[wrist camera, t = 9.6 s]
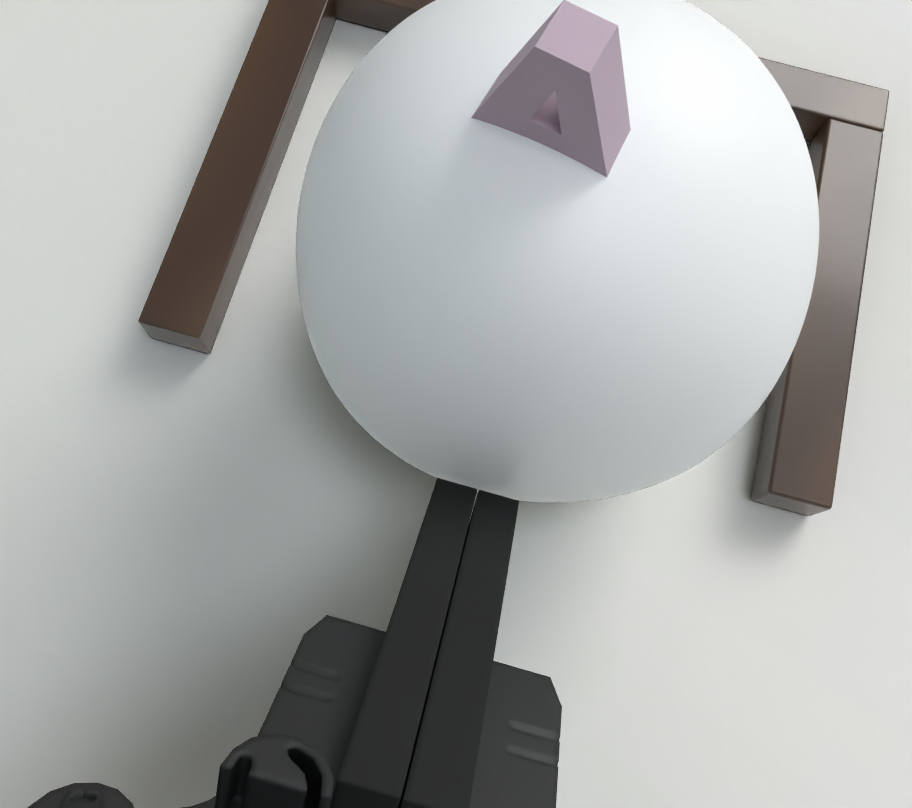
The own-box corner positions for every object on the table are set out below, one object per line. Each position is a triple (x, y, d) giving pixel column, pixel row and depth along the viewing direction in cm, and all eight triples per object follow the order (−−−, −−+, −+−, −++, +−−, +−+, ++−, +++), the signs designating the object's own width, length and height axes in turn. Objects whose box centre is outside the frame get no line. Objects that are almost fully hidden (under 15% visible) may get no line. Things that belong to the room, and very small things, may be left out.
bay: (151, 338, 22) (137, 321, 21) (299, -31, 26) (294, -63, 24) (811, 517, 22) (833, 509, 20) (868, 115, 25) (890, 89, 24)
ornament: (295, 509, 21) (152, 333, 9) (354, 151, 24) (298, -315, 12) (704, 555, 21) (1050, 438, 10) (712, 194, 24) (984, -226, 13)
